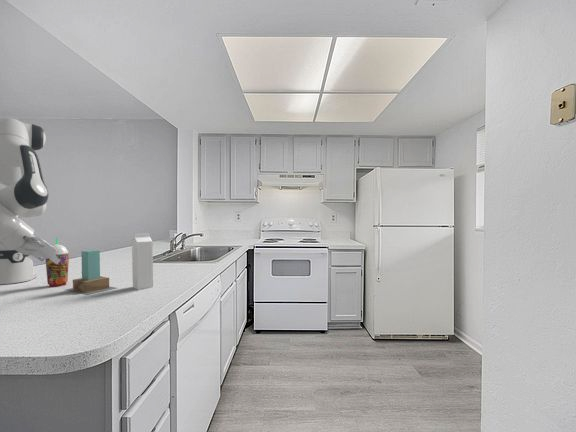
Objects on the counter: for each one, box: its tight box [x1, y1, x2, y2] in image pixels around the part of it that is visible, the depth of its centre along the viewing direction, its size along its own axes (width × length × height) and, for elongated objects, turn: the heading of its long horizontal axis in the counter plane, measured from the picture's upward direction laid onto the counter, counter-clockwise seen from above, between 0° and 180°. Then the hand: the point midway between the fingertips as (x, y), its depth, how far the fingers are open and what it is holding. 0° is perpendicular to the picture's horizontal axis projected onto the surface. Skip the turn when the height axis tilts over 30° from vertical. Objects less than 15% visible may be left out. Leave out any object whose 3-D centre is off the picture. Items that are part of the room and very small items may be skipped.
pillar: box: [81, 249, 101, 280], centre depth 131 cm, size 4×4×11 cm
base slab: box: [72, 275, 110, 293], centre depth 131 cm, size 9×9×4 cm
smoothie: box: [44, 237, 70, 288], centre depth 138 cm, size 8×8×20 cm
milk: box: [131, 232, 154, 290], centre depth 134 cm, size 6×6×22 cm
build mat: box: [64, 285, 118, 296], centre depth 131 cm, size 16×12×1 cm
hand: (51, 261), depth 120 cm, fingers open, 8 cm apart
